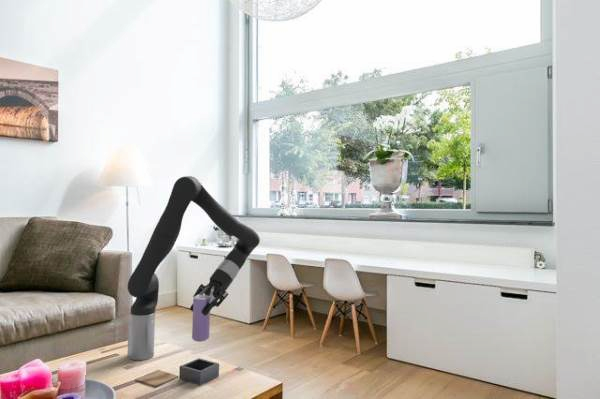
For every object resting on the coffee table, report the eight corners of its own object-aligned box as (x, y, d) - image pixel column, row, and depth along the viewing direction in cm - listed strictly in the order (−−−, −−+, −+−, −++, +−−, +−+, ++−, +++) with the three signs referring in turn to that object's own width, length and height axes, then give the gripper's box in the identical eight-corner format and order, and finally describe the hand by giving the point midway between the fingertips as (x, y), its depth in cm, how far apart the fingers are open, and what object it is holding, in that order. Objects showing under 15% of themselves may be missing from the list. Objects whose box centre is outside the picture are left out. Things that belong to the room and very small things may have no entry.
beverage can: (205, 342, 150) (206, 299, 150) (189, 341, 151) (190, 297, 151) (211, 337, 156) (213, 295, 156) (196, 335, 157) (197, 294, 157)
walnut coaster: (135, 380, 149) (135, 379, 149) (158, 371, 158) (158, 369, 158) (156, 387, 144) (156, 385, 144) (178, 377, 153) (178, 375, 153)
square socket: (179, 379, 152) (179, 366, 152) (198, 370, 160) (198, 358, 160) (200, 385, 147) (200, 372, 147) (218, 376, 155) (219, 363, 155)
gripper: (207, 265, 164) (179, 302, 155) (232, 270, 155) (204, 309, 146) (217, 278, 168) (190, 314, 159) (243, 283, 159) (216, 322, 150)
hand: (197, 312), depth 152 cm, fingers closed on beverage can, 6 cm apart
